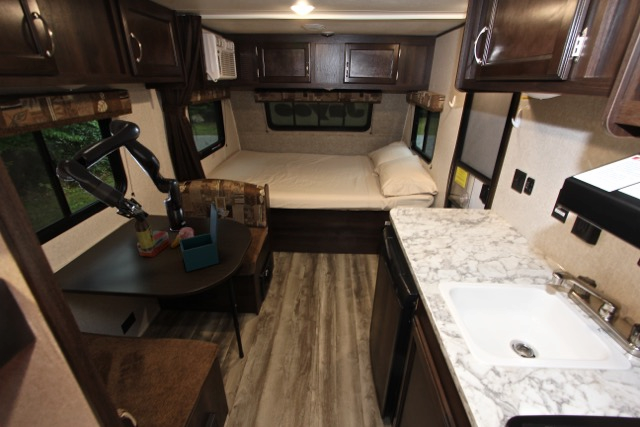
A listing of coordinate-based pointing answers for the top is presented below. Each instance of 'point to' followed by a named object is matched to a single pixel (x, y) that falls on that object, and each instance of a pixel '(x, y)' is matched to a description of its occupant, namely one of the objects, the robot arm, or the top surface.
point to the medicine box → (156, 243)
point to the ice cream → (183, 235)
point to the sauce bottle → (144, 233)
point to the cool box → (199, 251)
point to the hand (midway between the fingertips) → (145, 218)
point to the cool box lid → (215, 221)
